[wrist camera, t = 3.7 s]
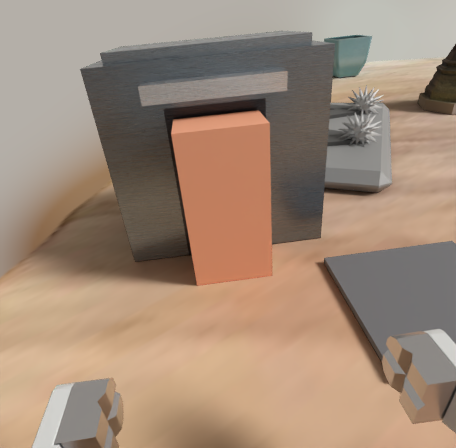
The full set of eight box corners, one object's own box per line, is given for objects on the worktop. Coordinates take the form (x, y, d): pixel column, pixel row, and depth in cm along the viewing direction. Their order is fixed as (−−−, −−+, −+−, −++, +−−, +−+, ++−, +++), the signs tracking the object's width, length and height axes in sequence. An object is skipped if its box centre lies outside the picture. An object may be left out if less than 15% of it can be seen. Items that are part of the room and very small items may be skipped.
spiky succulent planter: (388, 202, 30) (404, 122, 26) (180, 182, 38) (169, 118, 34) (387, 117, 53) (395, 68, 50) (259, 115, 61) (257, 73, 57)
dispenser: (326, 246, 24) (345, 31, 17) (132, 271, 24) (69, 58, 16) (289, 188, 33) (291, 29, 26) (147, 205, 32) (110, 47, 25)
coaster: (582, 355, 15) (586, 349, 15) (394, 384, 15) (396, 378, 15) (450, 245, 23) (451, 240, 23) (323, 262, 23) (324, 258, 22)
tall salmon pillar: (272, 275, 22) (269, 123, 17) (197, 285, 22) (171, 134, 17) (263, 249, 25) (258, 110, 19) (195, 258, 24) (173, 119, 19)
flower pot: (334, 80, 83) (337, 39, 78) (321, 75, 91) (323, 38, 86) (368, 76, 84) (373, 35, 79) (352, 72, 91) (356, 34, 87)
